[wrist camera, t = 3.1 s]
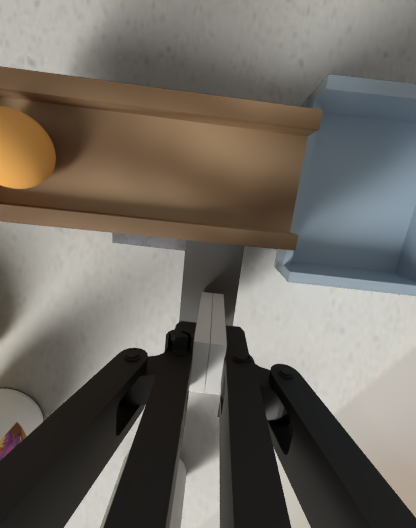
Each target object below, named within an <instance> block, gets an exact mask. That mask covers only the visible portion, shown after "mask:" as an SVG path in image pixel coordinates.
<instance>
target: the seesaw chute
mask: <svg viewBox="0 0 416 528" xmlns="http://www.w3.org/2000/svg"><path fill="white" fill-rule="evenodd" d="M0 106H4V107H9V108H13V109H16V110H18V111H21V112H23V113H24V114H26V115H28V116H30V117H31V118H33V119H34V120H35V121H36V122H38V123H39V124H40V125H41V126H42V127H43V129H44V130H45V131H46V132H47V134H48V135H49V137H50V138H51V140H52V143H53V145H54V148H55V153H56V164H55V168H54V170H53V172H52V174H51V175H50V177H49V178H48V179H47V180H46V181H45V182H43V183H42V184H40V185H38V186H35V187H32V188H26V189H15V188H9V187H5V186H1V185H0V221H2V222H12V223H22V224H32V225H42V226H52V227H62V228H72V229H82V230H92V231H102V232H112V233H122V234H132V235H142V236H152V237H162V238H172V239H182V240H186V248H185V260H184V271H183V283H182V295H181V307H180V319H179V322H180V321H187V322H196V323H197V319H198V313H199V307H200V301H201V296H202V292H208V293H216V294H224V309H225V325H227V326H233V320H234V313H235V306H236V299H237V292H238V285H239V278H240V271H241V264H242V257H243V250H244V246H253V247H263V248H273V249H283V250H293V251H295V250H296V245H297V240H298V235H297V234H294V233H291V232H290V229H291V224H292V219H293V213H294V208H295V203H296V197H297V192H298V187H299V181H300V176H301V171H302V166H303V160H304V155H305V150H306V144H307V139H308V136H309V135H311V134H313V133H315V132H316V131H318V130H319V129H320V124H321V119H322V114H323V110H320V109H313V108H305V107H298V106H290V105H283V104H276V103H268V102H261V101H253V100H246V99H238V98H231V97H224V96H216V95H209V94H201V93H194V92H186V91H179V90H172V89H164V88H157V87H149V86H142V85H134V84H127V83H120V82H112V81H105V80H97V79H90V78H82V77H75V76H68V75H60V74H53V73H45V72H38V71H30V70H23V69H16V68H8V67H1V66H0ZM212 297H213V296H212Z"/></svg>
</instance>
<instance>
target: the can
mask: <svg viewBox="0 0 416 528" xmlns="http://www.w3.org/2000/svg"><path fill="white" fill-rule="evenodd" d="M127 458H128V456H127V457H126V458H125V460H124V462H123V465H122V467H121V470H120V473H119V476H118V479H117V482H116V484H115V487H114V490H113V493H112V496H111V498H110V501H109V504H108V507H107V510H106V512H105V515H104V518H103V521H102V524H101V527H100V528H103V527H104V524H105V521H106V518H107V515H108V513H109V510H110V507H111V504H112V501H113V498H114V495H115V492H116V490H117V487H118V484H119V481H120V478H121V475H122V472H123V470H124V467H125V464H126V461H127ZM185 482H186V468H185V465H184V463H183V461H182V460H181V459H180V458H179V465H178V472H177V479H176V486H175V493H174V500H173V507H172V514H171V521H170V527H169V528H180V527H181V518H182V509H183V500H184V491H185Z"/></svg>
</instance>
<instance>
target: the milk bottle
mask: <svg viewBox="0 0 416 528" xmlns="http://www.w3.org/2000/svg"><path fill="white" fill-rule="evenodd" d="M42 422H43V415H42V412H41V410H40V408H39V406H38V405H37V403H36V402H34V400H33V399H31V398H30V397H29V396H27V395H26V394H24V393H22V392H19V391H16V390H12V389H0V460H1V459H2V458H4V457H5V456H6V455H7V454H8V453H9V452H10V451H11V450H12V449H14V448H15V447H16V446H17V445H18V444H19V443H20V442H21V441H22V440H24V439H25V438H26V437H27V436H28V435H29V434H30V433H31V432H32V431H33V430H35V429H36V428H37V427H38V426H39V425H40V424H41V423H42Z"/></svg>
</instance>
